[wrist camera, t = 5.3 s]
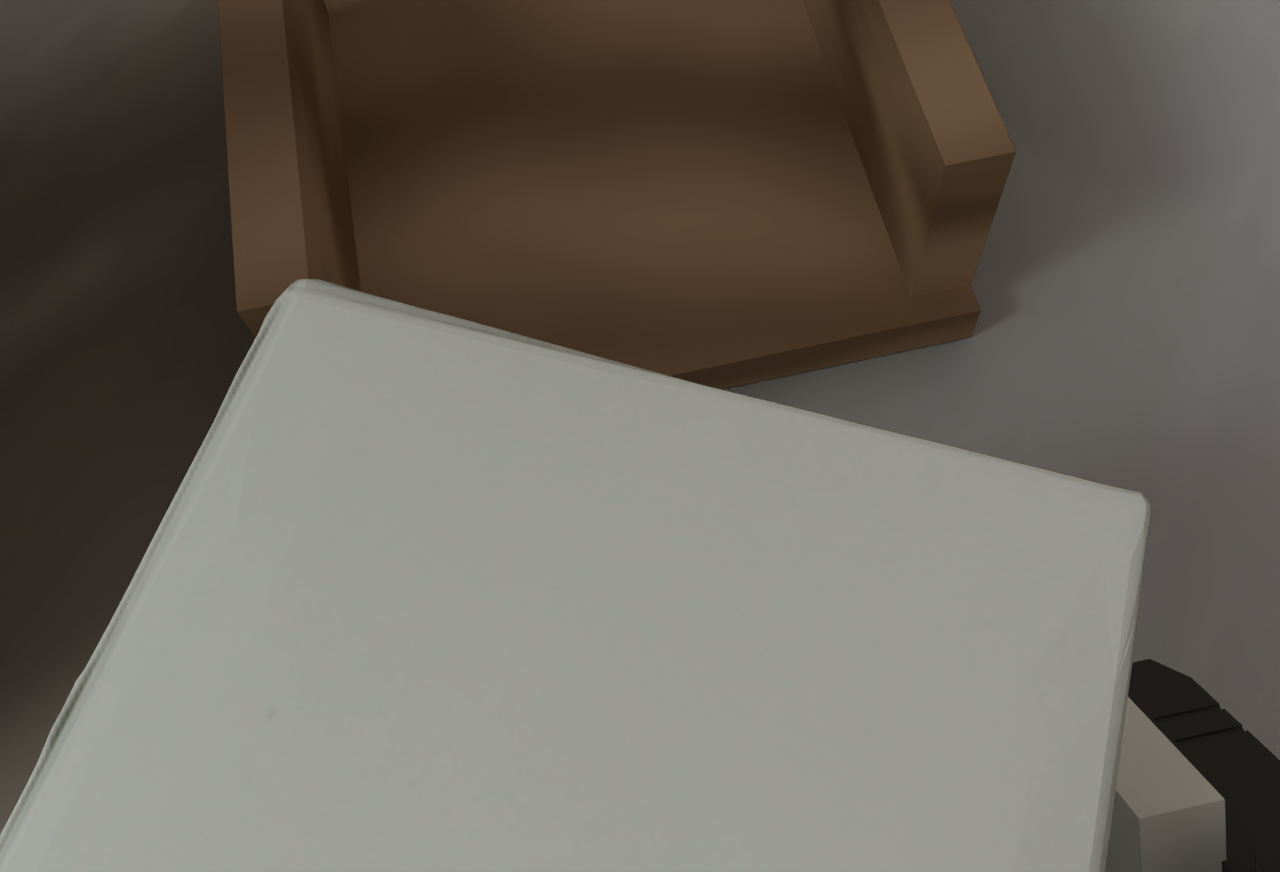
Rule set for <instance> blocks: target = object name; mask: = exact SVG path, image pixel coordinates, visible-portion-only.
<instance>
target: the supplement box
mask: <svg viewBox="0 0 1280 872" xmlns="http://www.w3.org/2000/svg"><path fill="white" fill-rule="evenodd" d="M1150 517H1151V510H1150V502H1149V501H1148V500H1147V499H1146V498H1145V497H1144V495H1143V494H1142V493H1141V492H1136V491H1132V490H1127V489H1122V488H1118V487H1113V486H1108V485H1104V484H1100V483H1096V482H1092V481H1088V480H1084V479H1080V478H1076V477H1072V476H1068V475H1064V474H1060V473H1057V472H1053V471H1049V470H1045V469H1041V468H1037V467H1033V466H1029V465H1025V464H1021V463H1017V462H1013V461H1008V460H1004V459H1000V458H996V457H992V456H988V455H984V454H980V453H976V452H972V451H968V450H964V449H960V448H956V447H952V446H948V445H944V444H940V443H936V442H932V441H928V440H924V439H919V438H915V437H911V436H907V435H903V434H899V433H895V432H890V431H886V430H882V429H878V428H874V427H870V426H866V425H862V424H858V423H854V422H850V421H846V420H842V419H838V418H834V417H830V416H826V415H822V414H818V413H814V412H810V411H806V410H802V409H798V408H794V407H790V406H786V405H782V404H778V403H774V402H769V401H765V400H761V399H757V398H753V397H749V396H745V395H741V394H737V393H733V392H728V391H724V390H720V389H716V388H712V387H708V386H704V385H700V384H696V383H693V382H689V381H686V380H682V379H678V378H675V377H671V376H667V375H664V374H660V373H657V372H653V371H649V370H646V369H642V368H638V367H635V366H631V365H627V364H624V363H620V362H616V361H613V360H609V359H605V358H602V357H598V356H594V355H591V354H587V353H583V352H580V351H576V350H573V349H569V348H565V347H562V346H558V345H554V344H551V343H547V342H544V341H540V340H536V339H533V338H529V337H525V336H522V335H518V334H515V333H511V332H507V331H504V330H500V329H497V328H493V327H489V326H486V325H482V324H479V323H475V322H472V321H468V320H464V319H460V318H457V317H453V316H449V315H445V314H441V313H437V312H434V311H430V310H426V309H422V308H418V307H415V306H411V305H407V304H404V303H400V302H396V301H393V300H389V299H385V298H382V297H378V296H374V295H371V294H367V293H364V292H360V291H357V290H353V289H350V288H346V287H343V286H339V285H336V284H333V283H329V282H326V281H322V280H319V279H298V280H297V281H295V282H294V283H292V284H291V285H290V286H289V287H288V288H287V289H286V290H285V291H284V292H283V293H282V294H281V295H280V296H279V298H278V299H277V300H276V301H275V303H274V304H273V306H272V307H271V309H270V311H269V312H268V314H267V315H266V317H265V319H264V322H263V324H262V326H261V328H260V331H259V333H258V335H257V336H256V338H255V340H254V342H253V344H252V346H251V348H250V349H249V351H248V353H247V355H246V357H245V359H244V361H243V362H242V364H241V366H240V368H239V370H238V372H237V374H236V376H235V378H234V380H233V382H232V384H231V386H230V388H229V390H228V392H227V394H226V397H225V399H224V401H223V403H222V405H221V407H220V409H219V411H218V413H217V415H216V418H215V420H214V422H213V424H212V426H211V428H210V430H209V432H208V433H207V435H206V437H205V439H204V441H203V443H202V445H201V447H200V449H199V450H198V452H197V454H196V456H195V458H194V460H193V462H192V464H191V466H190V468H189V469H188V471H187V473H186V475H185V477H184V479H183V481H182V483H181V485H180V487H179V489H178V491H177V493H176V495H175V496H174V498H173V500H172V502H171V504H170V506H169V508H168V510H167V512H166V514H165V516H164V518H163V520H162V521H161V523H160V525H159V527H158V529H157V531H156V533H155V535H154V537H153V539H152V541H151V543H150V545H149V547H148V549H147V551H146V553H145V555H144V557H143V559H142V561H141V563H140V565H139V567H138V569H137V571H136V573H135V575H134V577H133V579H132V581H131V583H130V585H129V587H128V588H127V590H126V592H125V594H124V596H123V598H122V600H121V602H120V604H119V606H118V608H117V610H116V612H115V613H114V615H113V617H112V619H111V621H110V623H109V625H108V627H107V629H106V630H105V632H104V634H103V636H102V638H101V640H100V642H99V643H98V645H97V647H96V649H95V651H94V653H93V654H92V656H91V658H90V660H89V662H88V664H87V666H86V667H85V669H84V670H83V672H82V673H81V675H80V676H79V678H78V679H77V680H76V682H75V684H74V686H73V688H72V690H71V692H70V694H69V696H68V698H67V700H66V702H65V704H64V706H63V708H62V710H61V712H60V714H59V716H58V718H57V719H56V721H55V723H54V725H53V727H52V729H51V731H50V733H49V736H48V738H47V741H46V743H45V745H44V748H43V750H42V752H41V755H40V757H39V760H38V762H37V764H36V766H35V768H34V770H33V772H32V774H31V776H30V778H29V780H28V782H27V784H26V786H25V788H24V790H23V792H22V794H21V796H20V798H19V800H18V802H17V804H16V806H15V808H14V810H13V812H12V814H11V815H10V817H9V819H8V821H7V823H6V825H5V827H4V829H3V830H2V832H1V834H0V872H1105V865H1106V858H1107V851H1108V844H1109V836H1110V829H1111V821H1112V814H1113V806H1114V798H1115V791H1116V783H1117V776H1118V768H1119V760H1120V753H1121V745H1122V737H1123V730H1124V722H1125V715H1126V707H1127V699H1128V692H1129V684H1130V676H1131V669H1132V661H1133V652H1134V644H1135V635H1136V627H1137V618H1138V610H1139V601H1140V593H1141V584H1142V576H1143V567H1144V559H1145V550H1146V542H1147V533H1148V528H1149V522H1150Z"/></svg>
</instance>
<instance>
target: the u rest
mask: <svg viewBox="0 0 1280 872" xmlns="http://www.w3.org/2000/svg"><path fill="white" fill-rule="evenodd" d="M218 12H219V29H220V45H221V62H222V78H223V94H224V111H225V127H226V143H227V160H228V176H229V193H230V209H231V225H232V242H233V258H234V275H235V291H236V307H237V313H238V314H239V316H240V317H241V319H242V320H243V322H244V323H245V324H246V326H247V327H248V329H249V330H250V332H251V333H252V335H253V336H254V337H255V338H256V336H257V335H258V333H259V331H260V328H261V326H262V324H263V322H264V319H265V317H266V315H267V314H268V312H269V311H270V309H271V307H272V306H273V304H274V303H275V301H276V300H277V299H278V298H279V296H280V295H281V294H282V293H283V292H284V291H285V290H286V289H287V288H288V287H289V286H290V285H291V284H292V283H294V282H295V281H297V280H298V279H319V280H322V281H326V282H329V283H333V284H336V285H339V286H343V287H346V288H350V289H353V290H357V291H360V292H364V293H367V294H371V295H374V296H378V297H382V298H385V299H389V300H393V301H396V302H400V303H404V304H407V305H411V306H415V307H418V308H422V309H426V310H430V311H434V312H437V313H441V314H445V315H449V316H453V317H457V318H460V319H464V320H468V321H472V322H475V323H479V324H482V325H486V326H489V327H493V328H497V329H500V330H504V331H507V332H511V333H515V334H518V335H522V336H525V337H529V338H533V339H536V340H540V341H544V342H547V343H551V344H554V345H558V346H562V347H565V348H569V349H573V350H576V351H580V352H583V353H587V354H591V355H594V356H598V357H602V358H605V359H609V360H613V361H616V362H620V363H624V364H627V365H631V366H635V367H638V368H642V369H646V370H649V371H653V372H657V373H660V374H664V375H667V376H671V377H675V378H678V379H682V380H686V381H689V382H693V383H696V384H700V385H704V386H708V387H712V388H716V389H720V390H722V389H727V388H731V387H736V386H741V385H746V384H750V383H755V382H760V381H765V380H769V379H774V378H779V377H784V376H788V375H793V374H798V373H803V372H807V371H812V370H817V369H822V368H826V367H831V366H836V365H841V364H845V363H850V362H855V361H860V360H864V359H869V358H874V357H879V356H883V355H888V354H893V353H898V352H902V351H907V350H912V349H917V348H921V347H926V346H931V345H936V344H940V343H945V342H950V341H955V340H959V339H964V338H969V337H971V336H972V333H973V330H974V327H975V325H976V322H977V319H978V317H979V314H980V311H981V310H980V307H979V305H978V302H977V300H976V297H975V295H974V292H973V290H972V287H971V283H972V280H973V277H974V274H975V271H976V268H977V265H978V262H979V259H980V256H981V253H982V250H983V247H984V244H985V241H986V238H987V235H988V232H989V230H990V227H991V224H992V221H993V218H994V215H995V212H996V209H997V206H998V203H999V200H1000V197H1001V194H1002V191H1003V188H1004V185H1005V182H1006V179H1007V176H1008V173H1009V170H1010V168H1011V165H1012V162H1013V159H1014V156H1015V153H1016V150H1015V148H1014V146H1013V144H1012V141H1011V139H1010V137H1009V135H1008V132H1007V130H1006V128H1005V125H1004V123H1003V121H1002V119H1001V116H1000V114H999V112H998V110H997V107H996V105H995V103H994V100H993V98H992V96H991V94H990V91H989V89H988V87H987V85H986V82H985V80H984V78H983V75H982V73H981V71H980V69H979V66H978V64H977V62H976V60H975V57H974V55H973V53H972V50H971V48H970V46H969V44H968V41H967V39H966V37H965V35H964V32H963V30H962V28H961V25H960V23H959V21H958V19H957V16H956V14H955V12H954V10H953V7H952V5H951V3H950V0H218Z"/></svg>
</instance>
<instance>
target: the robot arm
mask: <svg viewBox="0 0 1280 872" xmlns="http://www.w3.org/2000/svg"><path fill="white" fill-rule="evenodd" d="M1105 872H1280V760H1279V759H1278V758H1276V757H1275V756H1274V755H1273V754H1272V753H1271V752H1270V751H1269V750H1268V749H1267V748H1266V747H1265V746H1264V745H1263V744H1262V743H1260V742H1259V741H1258V740H1257V739H1256V738H1255V737H1254V736H1253V735H1252V734H1251V733H1250V732H1249V731H1244V730H1243V728H1242V725H1241V724H1240V723H1239V722H1238V721H1237V720H1236V719H1235V718H1234V717H1233V716H1232V715H1230V714H1229V713H1228V712H1227V711H1226V710H1225V709H1222V710H1221V709H1220V706H1219V703H1218V702H1217V701H1216V700H1214V699H1213V698H1212V697H1211V696H1210V695H1209V694H1208V693H1207V692H1206V691H1205V690H1204V689H1203V688H1202V687H1201V686H1199V685H1198V684H1197V683H1196V682H1195V681H1194V680H1193V679H1192V678H1191V677H1188V676H1186V675H1184V674H1182V673H1180V672H1177V671H1175V670H1173V669H1171V668H1169V667H1166V666H1164V665H1162V664H1160V663H1158V662H1155V661H1153V660H1151V659H1147V660H1143V661H1138V662H1134V663H1132V669H1131V676H1130V684H1129V692H1128V699H1127V707H1126V715H1125V722H1124V730H1123V737H1122V745H1121V753H1120V760H1119V768H1118V776H1117V783H1116V791H1115V798H1114V806H1113V814H1112V821H1111V829H1110V836H1109V844H1108V851H1107V858H1106V865H1105Z"/></svg>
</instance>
